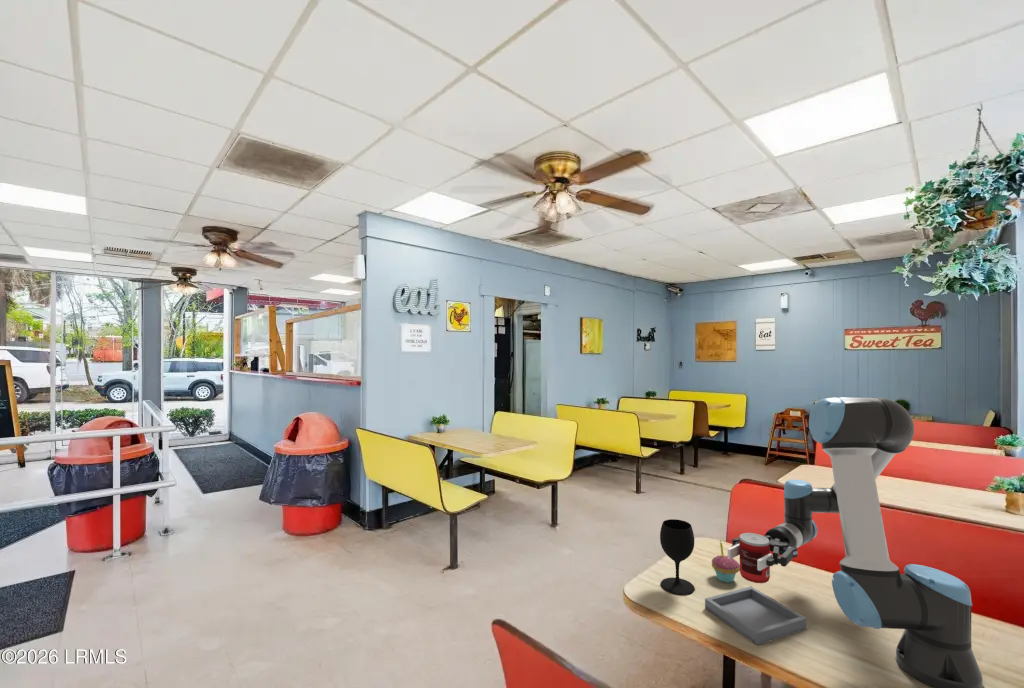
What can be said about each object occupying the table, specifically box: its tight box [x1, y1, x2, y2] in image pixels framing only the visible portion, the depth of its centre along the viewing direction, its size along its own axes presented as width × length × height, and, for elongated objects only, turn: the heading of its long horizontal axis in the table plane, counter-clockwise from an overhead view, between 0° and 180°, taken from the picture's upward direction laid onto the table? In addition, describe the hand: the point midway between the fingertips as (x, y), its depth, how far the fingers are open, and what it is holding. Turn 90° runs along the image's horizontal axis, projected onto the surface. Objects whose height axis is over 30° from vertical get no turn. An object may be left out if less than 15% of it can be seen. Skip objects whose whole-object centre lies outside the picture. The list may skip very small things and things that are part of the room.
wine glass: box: [659, 518, 696, 596], centre depth 151 cm, size 10×10×20 cm
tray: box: [704, 586, 807, 646], centre depth 133 cm, size 18×18×3 cm
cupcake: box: [711, 540, 740, 583], centre depth 155 cm, size 9×8×12 cm
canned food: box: [739, 532, 771, 584], centre depth 134 cm, size 8×8×11 cm
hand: (743, 559), depth 131 cm, fingers closed on canned food, 8 cm apart
